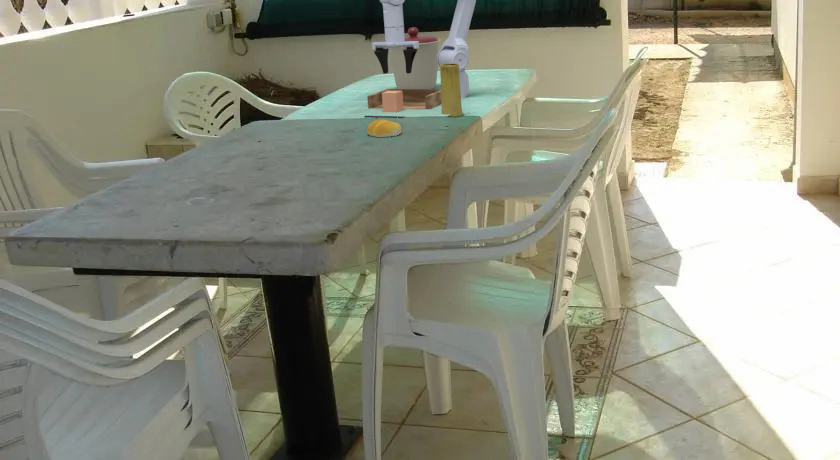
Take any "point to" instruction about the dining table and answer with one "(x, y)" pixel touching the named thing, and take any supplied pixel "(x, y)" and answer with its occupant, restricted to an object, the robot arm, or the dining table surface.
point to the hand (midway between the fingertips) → (397, 73)
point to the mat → (384, 116)
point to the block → (392, 101)
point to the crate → (410, 98)
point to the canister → (417, 62)
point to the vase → (450, 90)
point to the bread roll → (384, 128)
